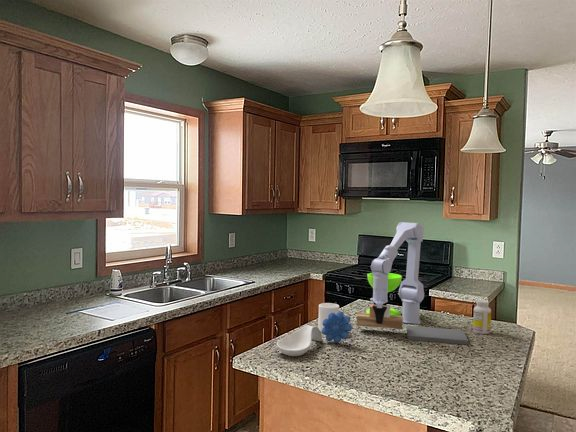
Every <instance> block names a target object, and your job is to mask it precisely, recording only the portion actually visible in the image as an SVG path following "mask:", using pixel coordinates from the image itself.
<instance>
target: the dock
mask: <svg viewBox="0 0 576 432" xmlns="http://www.w3.org/2000/svg"><path fill="white" fill-rule="evenodd" d="M406 335H407V336H406V337H407V340H410V341H419V342H420V341H422V342H434V343H444V344H457V345H467V346H468V345H469V339H468V338H467V337H468V336H466V333H465V332H464V330H463V329H452V328H442V327H441V328H440V327H438V328H437V327H429V326H428V327H427V326H415V325H414V326H413V325H406Z"/></svg>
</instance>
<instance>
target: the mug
mask: <svg viewBox="0 0 576 432" xmlns="http://www.w3.org/2000/svg"><path fill="white" fill-rule="evenodd" d="M339 311H340V305H339V304H336V303H332V302H322V303H320V304H318V322H317V324H318V326H317V327H318V328H319V330H320V332H321V333H322V329H323V328H324V326H323V320H325V319H328V315H329V314H330V313H335V314H337V313H338V312H339Z"/></svg>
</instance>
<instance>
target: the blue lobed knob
mask: <svg viewBox="0 0 576 432" xmlns="http://www.w3.org/2000/svg"><path fill="white" fill-rule="evenodd" d="M344 313H345V312H343V311H340V310H339V312H338V313H337V314H335V313H330V314H329V315H328V319H325V320H323V326H324V328H323V329H322V332H321V335H324V336H325V340H326V341H328V342H334V343H336V344H338V343H340V342H341V341H342V340H346V339H348V338H349V332H350V331H352V330H353V325H352V324H351V323H350V322H351V317H350V316H349V315H345V314H344Z"/></svg>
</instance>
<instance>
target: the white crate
mask: <svg viewBox="0 0 576 432" xmlns="http://www.w3.org/2000/svg"><path fill="white" fill-rule="evenodd" d="M382 306H383V307H387V309H386V311H385V313H384V317H383V318H390V308H391V306H390V305H388V304H387V305H382Z"/></svg>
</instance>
